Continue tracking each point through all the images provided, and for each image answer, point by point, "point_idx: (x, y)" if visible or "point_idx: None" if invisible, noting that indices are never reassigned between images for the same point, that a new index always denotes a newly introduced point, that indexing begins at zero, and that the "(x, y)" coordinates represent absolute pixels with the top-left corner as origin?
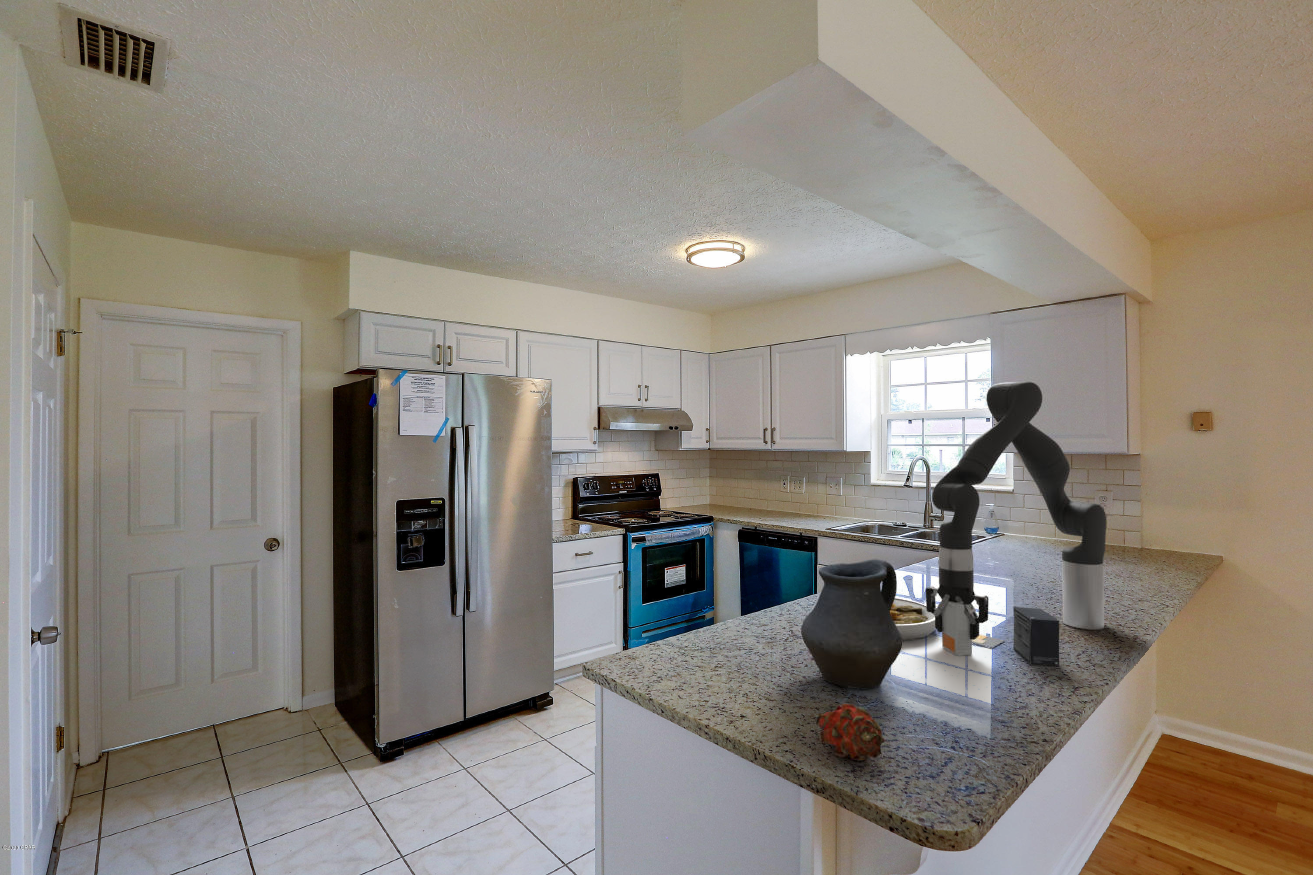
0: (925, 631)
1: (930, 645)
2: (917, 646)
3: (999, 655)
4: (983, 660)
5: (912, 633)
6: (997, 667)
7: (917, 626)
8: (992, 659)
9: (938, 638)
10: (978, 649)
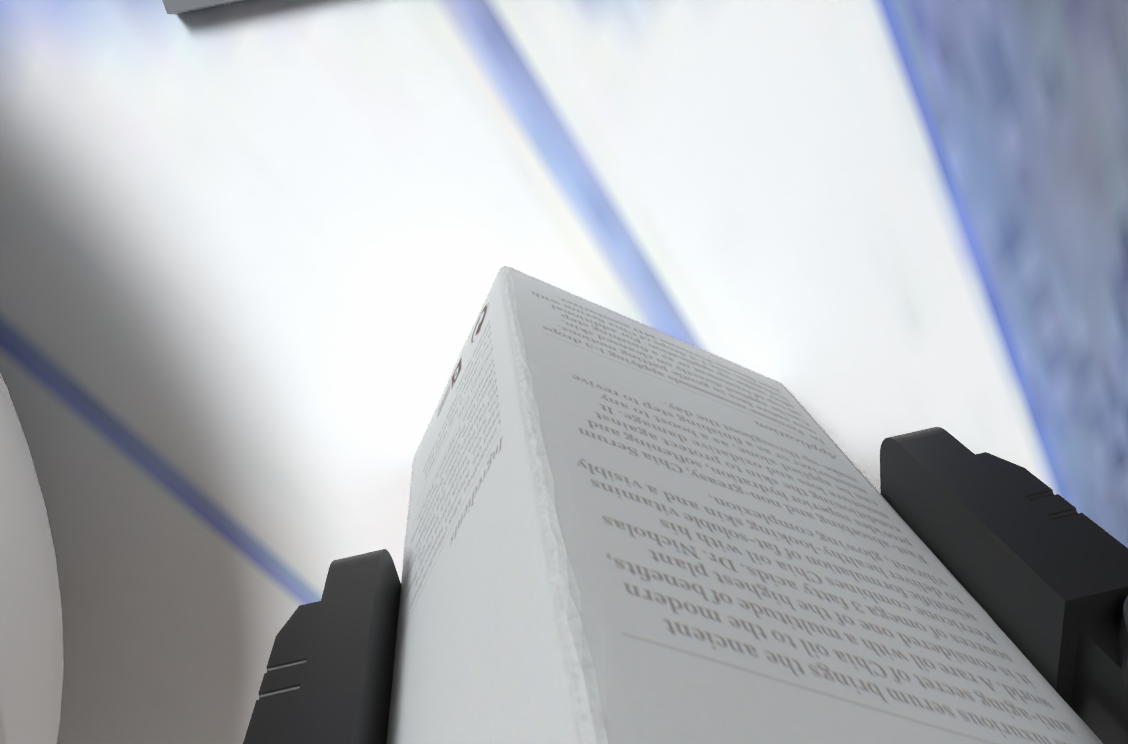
0: (38, 498)
1: (290, 515)
2: (251, 656)
3: (1014, 94)
4: (941, 425)
5: (60, 712)
6: (1109, 478)
7: (26, 742)
8: (999, 312)
9: (78, 169)
10: (726, 111)
